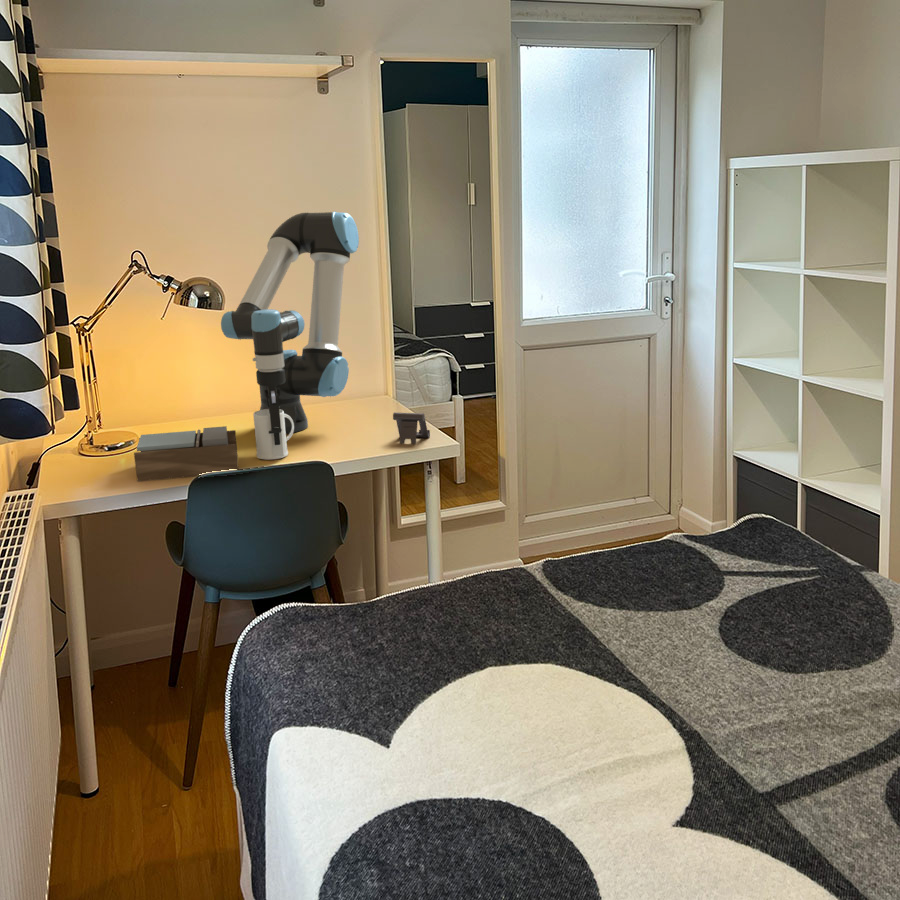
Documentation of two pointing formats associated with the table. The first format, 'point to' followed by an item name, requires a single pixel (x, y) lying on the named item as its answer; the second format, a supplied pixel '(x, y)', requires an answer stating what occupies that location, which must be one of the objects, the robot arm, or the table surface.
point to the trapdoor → (183, 439)
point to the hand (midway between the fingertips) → (277, 451)
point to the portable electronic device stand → (411, 426)
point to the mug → (263, 436)
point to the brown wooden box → (186, 460)
